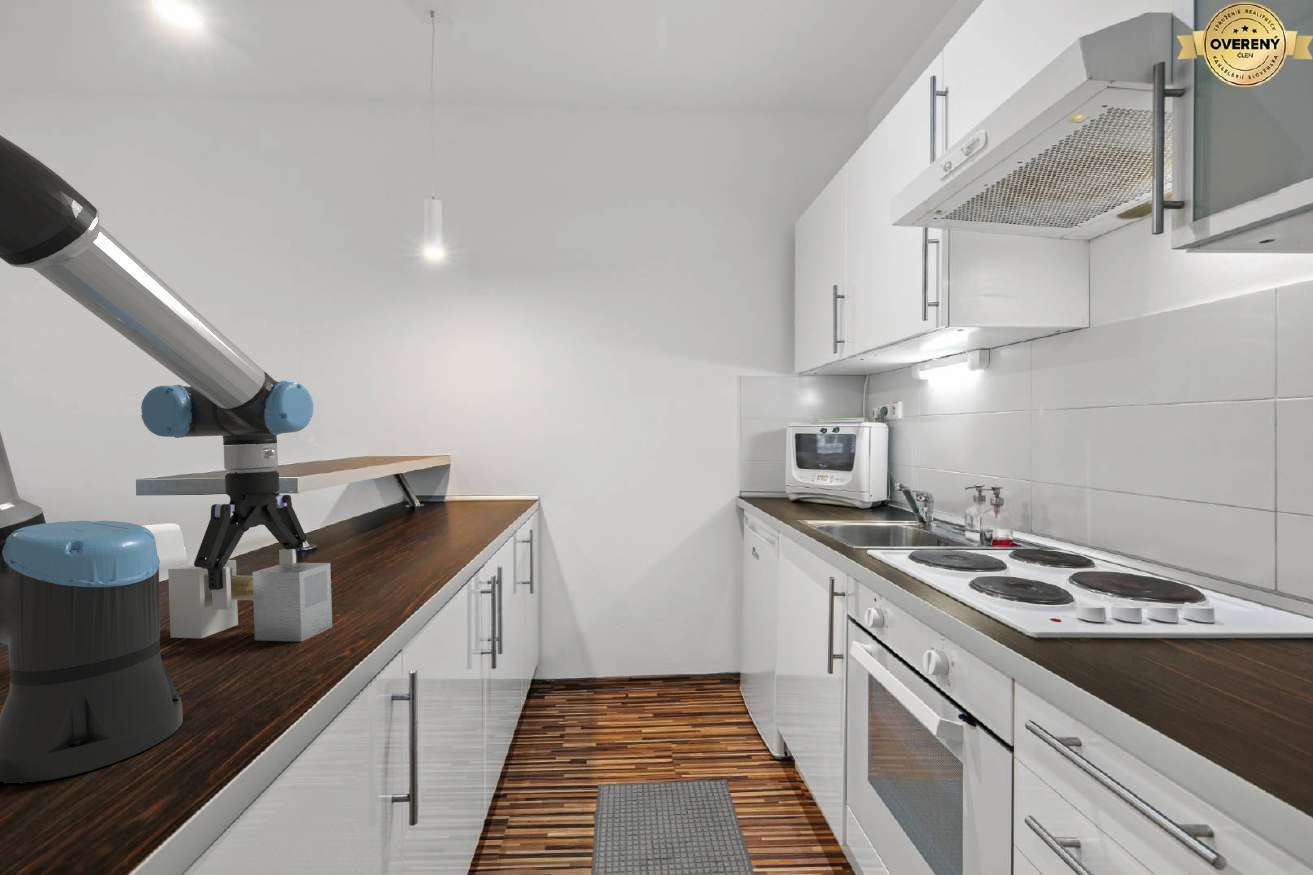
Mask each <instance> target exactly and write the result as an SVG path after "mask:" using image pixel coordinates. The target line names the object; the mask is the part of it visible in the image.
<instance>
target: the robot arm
mask: <svg viewBox="0 0 1313 875" xmlns="http://www.w3.org/2000/svg"><path fill="white" fill-rule="evenodd" d="M0 259H1V260H3V261H4V262H5V263H7V264H8V265H10V266H12V267H13V268H23V269H24V268H25V269H27V268H28V269H33V270H34V271H35V272H37V273H38V274H40V275H41V277H44V278H45V279H46V280H47V281H49V282H50V283H52V284H53V285H54V286H55V287H57V288H59V289H60V290H61V291H63V292H64V294H67V295H68V296H69V297H70V298H72V299H73V300H75V302H77V303H78V304H80V305H81V306H82V307H84V308H85V309H87V310H88V311H89V312H91V313H92V314H93V315H94V316H96V317H97V318H99V319H100V320H102V321H103V322H104V323H105V324H107V325H108V326H110V327H111V328H112V329H113V330H114V331H116V332H118V333H119V334H120V335H121V336H123V338H126V340H128V341H130V342H131V343H132V344H133V345H135V346H137V347H138V348H139V349H140V350H142V351H143V352H145V353H146V354H147V355H148V356H149V357H151V358H152V359H154V361H156V362H158V363H159V364H160V365H162V366H163V367H164V368H166V369H167V370H169V371H170V372H171V373H172V374H174V375H175V376H177V377H178V378H179V379H181V380H182V381H183V382H184V383H186V384H187V386H183V385H181V384H173V385H159V386H155V387H153V388H151V389H150V390H148V391H147V393H146V394H145V396H144V397H143V399H142V401H141V405H140V409H141V410H140V411H141V412H140V413H141V419H142V422H143V424H144V426H145V427H146V428H147V430H148V431H149V432H151V433H152V434H154V435H156V436H157V437H158V436H159V437H165V438H169V437H170V438H175V439H179V438H188V437H189V438H190V437H192V438H193V437H195V438H196V437H218V436H219V437H222V443H223V444H222V445H223V462H224V463H223V466H224V467H223V469H224V470H226V471H228V473H225V475H224V487H225V488H224V490H225V494H226V495H227V496H228V497H229V498H230V499H229V502H228V503H222V504H221V503H215V504H212V505H211V507H210V519H209V522H208V524H207V527H206V530H205V533H204V536H203V538H202V541H201V543H200V546H199V549H198V552H197V554H196V556H195V559H194V561H193V563H194V566H195V567H201V568H203V569H207V570H208V580H209V581H208V585H209V589H210V590H212V605H213V609H221V610H228V609H231V608H232V602H231V580H230V567H224V566H225V564H226V563H227V561H228V560H230V557H231V556H232V554H233V552H234V551H235V549H236V547H237V545H238V544H239V542H240V541H241V538H243V535H244V534H245V533H246V532H247V531H248V530H250V528H254V527H258V526H264V527H265V528H266V529H267V531H269V532H270V533H271V535H272V536H273V537H274V538H275V539H276V540H277V541H278V543H279V544H280V545H281V546H282V547H283V548H282V549H279V550H278V552H279V553H278V555H279V557H278V560H279V565H280V564H283V563H299V559H298V549H302V548H303V547H304V543H306V542H307V536H306V533H305V531H304V529H303V527H302V525H301V522H300V521H299V519H298V515H297V514H296V512H295V509H294V507H293V502H292V497H291V494H276V493H277V492H279V491H280V475H279V474H280V472H279V471H278V470H275V468H277V467H278V466H279V455H278V435H282V434H289V433H297V432H300V431H302V430H304V429H305V428H306V427H307V426H308V425H309V424H310V421H311V419H312V418H313V414H314V402H313V398H312V395H311V394H310V392H309V390H308V389H307V388H306V387H305V386H304V385H302V384H300V383H297V382H295V381H287V380H280V381H277V380H275V379H274V378H273V377H272V376H271V375H270V374H268V373H267V372H266V371H265V370H264V369H262V367H260V365H258V364H257V363H256V362H255V361H254V360H252V358H250V357H249V355H247V354H246V353H245V352H244V351H242V350H241V349H240V348H239V346H237V345H235V344H234V342H232V341H231V340H230V339H229V338H228V337H226V336H225V334H223V333H222V332H221V331H220V330H219V329H218V328H216V326H215V325H213V324H212V323H211V322H210V321H209V320H207V318H205V317H204V316H203V315H202V314H201V313H200V312H199V311H197V310H196V309H195V308H194V307H193V306H192V305H190V303H188V302H187V301H186V300H185V299H184V298H183V297H182V296H181V295H179V294H178V292H176V291H175V290H174V289H173V288H172V287H170V286H169V285H168V284H167V283H166V282H165V281H164V280H163V279H162V278H161V277H159V276H158V275H157V274H156V273H155V272H154V271H153V270H151V269H150V268H149V267H148V266H147V265H146V264H145V263H144V262H142V261H141V260H140V259H139V258H138V257H137V256H136V255H135V254H134V253H132V252H131V251H130V250H129V249H128V248H127V247H125V245H123V244H122V243H121V242H120V241H119V240H117V239H116V237H114V236H113V235H112V234H111V233H110V232H109V231H107V230H106V229H105V227H103V225H101V224H100V212H99V210H98V209H97V207H95V206H94V205H93V204H92V203H91V202H90V201H89V200H88V199H86V197H85V196H84V195H83V194H81V193H80V192H79V191H78V190H77V189H75V188H74V187H73V186H72V185H71V184H69V183H68V182H67V181H66V180H65V179H64V178H62V176H60V175H59V174H58V173H56V172H55V171H54V170H52V168H50V167H49V166H47V165H45V164H44V163H43V162H42V161H40V160H39V159H37V158H36V157H34V156H33V155H32V154H30V153H28V152H27V151H26V150H25V149H23V148H21V147H20V146H19V145H16V144H15V143H14V142H12V141H11V140H9V139H7V138H6V137H4V136H2V135H1V134H0ZM5 447H6V446H5V443H4V439H3V437H2V432H1V431H0V647H1V646H4V647H8V667H9V668H8V669H9V690H8V693H7V697H6V698H5V701H4V704H3V707H2V709H1V712H0V782H4V783H3V784H7V783H8V782H10V783H13V782H14V783H16V782H17V783H19V782H20V784H26V783H25V782H32V783H37V782H38V781H40V782H46V781H51V780H57V779H60V778H66V777H70V776H75V775H79V774H82V773H86V772H89V771H92V770H93V771H94V770H96V769H99V768H103V767H106V766H109V765H111V764H114V763H116V762H117V763H118V762H120V761H123V760H125V759H128V758H130V757H133V756H135V755H137V754H140V753H142V752H145V750H148V749H150V748H152V747H154V746H156V745H158V744H159V743H161V742H163V741H164V740H166V739H167V738H169V737H170V736H172V735H173V734H174V733H175V732H176V731H178V730H179V728H180V727H181V726H182V723H183V717H184V716H183V703H182V698H181V697H180V695H179V694H178V692H177V689H176V686H175V685H174V682H173V680H172V678H171V676H170V674H169V672H168V670H167V668H166V666H165V663H164V662H163V660H162V655H161V653H162V652H161V630H160V629H161V624H160V623H161V621H160V620H161V618H160V617H161V616H160V612H161V611H160V570H159V569H160V563H161V562H160V557H159V556H158V551H157V550H158V549H157V543H156V541H157V540H156V538H155V535H154V533H153V532H152V531H151V530H150V529H149V528H147V527H145V526H144V525H143V526H142V525H140V524H136V523H132V522H125V521H116V520H115V521H114V520H113V521H112V520H99V521H92V520H70V521H69V520H68V521H55V522H46V518H45V516H44V511H43V509H42V507H41V506H39V505H37V504H34V503H32V502H29V501H27V500H25V499H22V498H21V497H20V496H19V492H18V490H17V486H16V482H15V479H14V476H13V472H12V468H11V465H10V461H9V458H8V454H7V450H6V448H5ZM44 780H45V781H44ZM36 781H37V782H36ZM21 782H22V783H21ZM38 783H39V782H38Z"/></svg>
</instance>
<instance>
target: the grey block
mask: <svg viewBox="0 0 1313 875" xmlns="http://www.w3.org/2000/svg"><path fill="white" fill-rule="evenodd" d="M331 570H332V569H331V562H298V563H283V564H280V563H279V564H276V565H273V566H270V567H266V568H263V569H259V570H256V571H252V576H253V600H252V601H253V620H254V621H253V622H254V623H253V624H254V626H253V627H254V641H273V642H301V643H302V642H304V641H306V640H308V639H311V638H313V637H315V636H317V635H319V634H321V633H323V632H325V631H327V630H330V629H332V628H333V609H332V608H333V606H332V580H331V578H332V577H331V572H332V571H331Z"/></svg>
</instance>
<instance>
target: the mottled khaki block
mask: <svg viewBox="0 0 1313 875" xmlns="http://www.w3.org/2000/svg"><path fill="white" fill-rule="evenodd" d="M230 580H231V600H237V601H254V600H253V575H240V574H239V575H237V574H236V576H232V577H230Z"/></svg>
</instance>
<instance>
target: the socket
mask: <svg viewBox="0 0 1313 875" xmlns="http://www.w3.org/2000/svg"><path fill="white" fill-rule="evenodd" d="M236 560H237V559H228V561H227V563H226V564H225V566H224V567H230V577H232V576H236V575H237V561H236ZM167 573H168V576H167V579H168V602H169V603H168V605H169V633H170V634H169V636H170V638H175V639H176V638H177V639H178V638H179V639H180V638H181V639H203V638H207V637H209V636H211V635H214V634H218V633H220V632H223V631H225V630H228V629H231V628H233V627H236V626H238V625H239V619H238V618H239V617H238V614H239V612H238V600H231V602H232V608H231V609H228V610H221V609H213V605H212V590H210V589H209V585H208V581H209V580H208V570H207V569H203V568H201V567H195V566H194V562H192V563H187V564H182V565H179V566H175V567H169V568H168V569H167Z"/></svg>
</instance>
